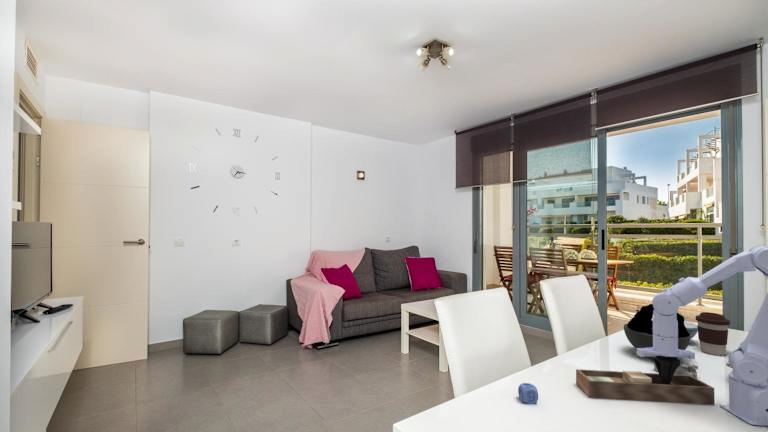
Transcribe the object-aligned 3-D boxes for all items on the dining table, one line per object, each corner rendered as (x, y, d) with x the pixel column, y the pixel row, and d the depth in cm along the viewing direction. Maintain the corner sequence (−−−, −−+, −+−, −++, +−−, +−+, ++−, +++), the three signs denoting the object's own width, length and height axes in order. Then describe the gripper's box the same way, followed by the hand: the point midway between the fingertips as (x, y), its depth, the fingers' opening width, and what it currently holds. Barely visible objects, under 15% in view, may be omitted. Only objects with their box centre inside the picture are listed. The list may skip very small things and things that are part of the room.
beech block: (651, 387, 100) (651, 378, 100) (633, 386, 101) (632, 377, 101) (640, 380, 105) (640, 371, 105) (622, 379, 106) (622, 370, 106)
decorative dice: (532, 397, 100) (532, 382, 100) (538, 404, 96) (538, 389, 96) (518, 397, 100) (518, 382, 100) (523, 404, 96) (523, 389, 96)
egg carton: (700, 379, 114) (700, 366, 115) (689, 383, 111) (689, 370, 111) (662, 367, 124) (662, 355, 124) (650, 371, 120) (650, 358, 120)
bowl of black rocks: (678, 371, 119) (678, 315, 120) (614, 353, 136) (613, 304, 137) (699, 360, 130) (698, 308, 131) (637, 344, 147) (636, 299, 148)
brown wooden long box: (690, 390, 106) (690, 375, 106) (714, 404, 97) (714, 388, 97) (576, 384, 108) (576, 369, 109) (589, 397, 100) (589, 381, 100)
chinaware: (645, 337, 158) (645, 319, 158) (669, 334, 163) (669, 317, 163) (682, 348, 144) (682, 328, 144) (707, 345, 148) (707, 326, 149)
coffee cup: (728, 359, 132) (727, 318, 132) (693, 351, 140) (693, 313, 140) (732, 353, 138) (731, 314, 139) (698, 346, 146) (698, 310, 146)
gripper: (681, 332, 106) (682, 378, 106) (630, 329, 107) (630, 375, 107) (700, 339, 99) (701, 388, 99) (645, 337, 100) (645, 385, 100)
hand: (665, 382), depth 102 cm, fingers closed
